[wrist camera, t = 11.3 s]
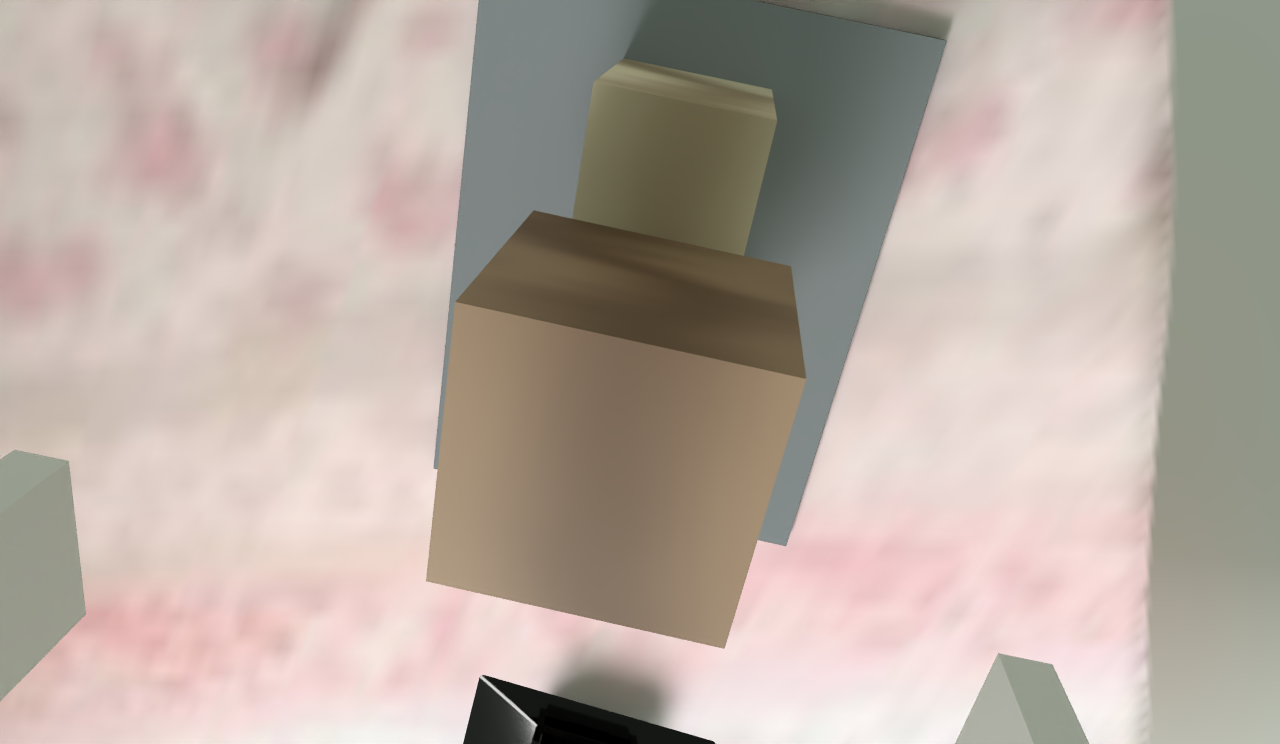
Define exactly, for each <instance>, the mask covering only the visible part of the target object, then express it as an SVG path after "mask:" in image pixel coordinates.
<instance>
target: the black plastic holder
mask: <svg viewBox="0 0 1280 744" xmlns="http://www.w3.org/2000/svg"><path fill="white" fill-rule="evenodd" d="M463 744H715V742H713V741H710V740H707V739H704V738H700V737H697V736H693V735H690V734H686V733H683V732H679V731H676V730H672V729H669V728H665V727H662V726H659V725H655V724H652V723H648V722H645V721H641V720H638V719H634V718H631V717H627V716H624V715H621V714H617V713H614V712H610V711H607V710H603V709H600V708H596V707H593V706H589V705H586V704H582V703H579V702H576V701H572V700H569V699H565V698H562V697H558V696H555V695H551V694H548V693H544V692H541V691H537V690H534V689H531V688H527V687H524V686H520V685H517V684H513V683H510V682H506V681H503V680H499V679H496V678H492V677H489V676H486V675H482V676H480V678H479V682H478V686H477V690H476V694H475V698H474V702H473V706H472V710H471V714H470V718H469V722H468V726H467V730H466V734H465V739H464V743H463Z"/></svg>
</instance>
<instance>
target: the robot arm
mask: <svg viewBox="0 0 1280 744" xmlns="http://www.w3.org/2000/svg"><path fill="white" fill-rule="evenodd" d="M85 614H86V611H85V602H84V593H83V584H82V575H81V566H80V557H79V548H78V539H77V530H76V522H75V513H74V504H73V495H72V486H71V477H70V468H69V461H66V460H61V459H56V458H51V457H47V456H42V455H37V454H32V453H27V452H22V451H18V450H14V451H12V452H11V453H9V454H8V455H6V456H5V457H3V458H2V459H1V460H0V701H1V700H2V699H3V698H4V697H5V696H6V695H7V694H8V693H9V692H10V691H11V690H12V689H13V688H14V687H15V686H16V685H17V684H18V683H19V682H20V681H21V680H22V679H23V678H24V677H25V676H26V675H27V674H28V673H29V672H30V671H31V670H32V669H33V667H34V666H35V665H36V664H37V663H38V662H39V661H40V660H41V659H42V658H43V657H44V656H45V655H46V654H47V653H48V652H49V651H50V650H51V649H52V648H53V647H54V646H55V645H56V644H57V643H58V642H59V641H60V640H61V639H62V638H63V637H64V636H65V635H66V634H67V633H68V632H69V631H70V630H71V629H72V628H73V627H74V626H75V625H76V624H77V623H78V622H79V621H80V620H81V618H82V617H83V616H84V615H85ZM955 744H1089V742H1088V740H1087V738H1086V736H1085V734H1084V731H1083V729H1082V727H1081V725H1080V723H1079V721H1078V718H1077V716H1076V714H1075V712H1074V710H1073V708H1072V706H1071V703H1070V701H1069V699H1068V697H1067V695H1066V693H1065V690H1064V688H1063V686H1062V684H1061V682H1060V680H1059V678H1058V675H1057V673H1056V671H1055V669H1054V667H1053V665H1052V664H1047V663H1042V662H1038V661H1033V660H1028V659H1023V658H1018V657H1013V656H1009V655H1004V654H999V653H998V655H997V657H996V659H995V661H994V663H993V665H992V667H991V670H990V672H989V674H988V676H987V678H986V680H985V682H984V684H983V686H982V688H981V691H980V693H979V695H978V697H977V699H976V701H975V703H974V705H973V707H972V709H971V712H970V714H969V716H968V718H967V720H966V722H965V724H964V726H963V728H962V731H961V733H960V735H959V737H958V739H957V741H956V743H955Z"/></svg>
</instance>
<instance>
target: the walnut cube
mask: <svg viewBox="0 0 1280 744" xmlns="http://www.w3.org/2000/svg"><path fill="white" fill-rule="evenodd" d="M805 382H806V372H805V365H804V358H803V350H802V343H801V336H800V328H799V321H798V314H797V306H796V299H795V292H794V284H793V277H792V270H791V266H788V265H783V264H779V263H774V262H770V261H765V260H760V259H756V258H751V257H746V256H742V255H737V254H733V253H728V252H723V251H719V250H714V249H710V248H705V247H700V246H696V245H691V244H687V243H682V242H677V241H673V240H668V239H664V238H659V237H654V236H650V235H645V234H641V233H636V232H631V231H627V230H622V229H618V228H613V227H608V226H604V225H599V224H595V223H590V222H585V221H581V220H576V219H572V218H567V217H562V216H558V215H553V214H549V213H544V212H539V211H535V210H533V212H532V213H531V214H530V215H529V216H528V217H527V219H526V220H525V221H524V222H523V223H522V224H521V226H520V227H519V228H518V229H517V230H516V231H515V233H514V234H513V235H512V236H511V237H510V238H509V240H508V241H507V242H506V243H505V244H504V245H503V247H502V248H501V249H500V250H499V251H498V252H497V254H496V255H495V256H494V257H493V258H492V259H491V261H490V262H489V263H488V264H487V265H486V266H485V268H484V269H483V270H482V271H481V272H480V273H479V275H478V276H477V277H476V278H475V279H474V280H473V282H472V283H471V284H470V285H469V286H468V287H467V289H466V290H465V291H464V292H463V293H462V294H461V295H460V297H459V298H458V299H457V300H456V301H455V307H454V317H453V327H452V336H451V346H450V356H449V365H448V375H447V385H446V394H445V404H444V414H443V423H442V433H441V443H440V452H439V462H438V472H437V481H436V491H435V501H434V510H433V520H432V530H431V539H430V549H429V559H428V568H427V578H426V581H428V582H432V583H437V584H441V585H445V586H450V587H454V588H459V589H463V590H468V591H472V592H476V593H481V594H485V595H490V596H494V597H498V598H503V599H507V600H512V601H516V602H521V603H525V604H529V605H534V606H538V607H543V608H547V609H552V610H556V611H560V612H565V613H569V614H574V615H578V616H582V617H587V618H591V619H596V620H600V621H605V622H609V623H613V624H618V625H622V626H627V627H631V628H635V629H640V630H644V631H649V632H653V633H658V634H662V635H666V636H671V637H675V638H680V639H684V640H688V641H693V642H697V643H702V644H706V645H711V646H715V647H719V648H725V645H726V642H727V639H728V635H729V632H730V629H731V625H732V622H733V619H734V616H735V612H736V609H737V606H738V602H739V599H740V596H741V593H742V589H743V586H744V583H745V579H746V576H747V573H748V570H749V566H750V563H751V560H752V556H753V553H754V550H755V547H756V543H757V540H758V537H759V533H760V530H761V527H762V523H763V520H764V517H765V514H766V510H767V507H768V504H769V500H770V497H771V494H772V491H773V487H774V484H775V481H776V477H777V474H778V471H779V468H780V464H781V461H782V458H783V454H784V451H785V448H786V445H787V441H788V438H789V435H790V431H791V428H792V425H793V422H794V418H795V415H796V412H797V408H798V405H799V402H800V399H801V395H802V392H803V389H804V385H805Z"/></svg>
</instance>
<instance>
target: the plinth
mask: <svg viewBox="0 0 1280 744" xmlns="http://www.w3.org/2000/svg"><path fill="white" fill-rule="evenodd" d="M776 124H777V116H776V110H775V104H774V99H773V93H772V89H768V88H763V87H758V86H753V85H749V84H744V83H739V82H734V81H729V80H725V79H720V78H715V77H710V76H705V75H701V74H696V73H691V72H686V71H682V70H677V69H672V68H667V67H662V66H658V65H653V64H648V63H643V62H639V61H634V60H629V59H624V58H623V59H622V60H621V61H619V62H618V63H617V64H616V65H614V66H613V67H612V68H611V69H609V70H608V71H607V72H605V73H604V74H603V75H602V76H600V77H599V78H598V79H597V80H595V81H594V82H593V88H592V95H591V101H590V108H589V114H588V120H587V127H586V133H585V140H584V146H583V153H582V159H581V166H580V172H579V178H578V185H577V191H576V198H575V204H574V211H573V217H572V219H576V220H581V221H585V222H590V223H595V224H599V225H604V226H608V227H613V228H618V229H622V230H627V231H631V232H636V233H641V234H645V235H650V236H654V237H659V238H664V239H668V240H673V241H677V242H682V243H687V244H691V245H696V246H700V247H705V248H710V249H714V250H719V251H723V252H728V253H733V254H737V255H742V256H744V253H745V249H746V245H747V241H748V237H749V233H750V229H751V225H752V221H753V217H754V213H755V209H756V205H757V201H758V197H759V192H760V188H761V184H762V180H763V176H764V172H765V168H766V164H767V160H768V156H769V152H770V148H771V144H772V140H773V136H774V132H775V128H776Z"/></svg>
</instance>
